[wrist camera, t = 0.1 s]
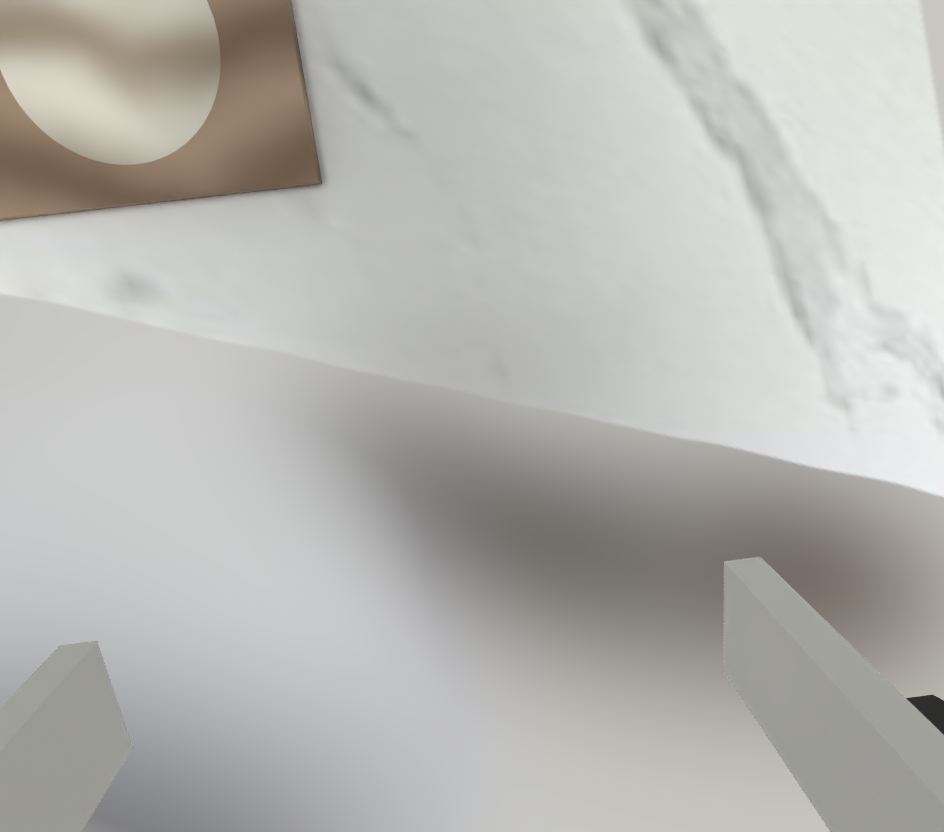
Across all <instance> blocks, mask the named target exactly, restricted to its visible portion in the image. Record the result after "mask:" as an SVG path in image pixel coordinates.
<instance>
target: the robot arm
mask: <svg viewBox="0 0 944 832" xmlns="http://www.w3.org/2000/svg"><path fill="white" fill-rule="evenodd" d="M723 646H724V647H723V649H724V650H723V651H724V653H723V671H724V673H725V674H726V676H727V677H728V679H729V680H730V682H731V683H732V685H733V686H734V688H735V689H736V691H737V692H738V694H739V695H740V697H741V698H742V700H743V701H744V703H745V704H746V706H747V707H748V709H749V710H750V712H751V713H752V715H753V716H754V718H755V719H756V721H757V722H758V724H759V725H760V727H761V728H762V730H763V731H764V733H765V734H766V736H767V737H768V739H769V740H770V742H771V743H772V745H773V746H774V748H775V749H776V751H777V752H778V754H779V755H780V757H781V758H782V760H783V761H784V763H785V764H786V766H787V767H788V769H789V770H790V772H791V773H792V775H793V776H794V778H795V779H796V781H797V782H798V784H799V785H800V787H801V788H802V790H803V791H804V793H805V794H806V796H807V797H808V799H809V800H810V802H811V803H812V805H813V806H814V808H815V809H816V811H817V812H818V814H819V815H820V817H821V818H822V820H823V821H824V823H825V824H826V826H827V827H828V829H829V830H830V832H944V701H943V700H941V699H940V698H938V697H936V696H934V695H927V696H921V697H912V698H905V697H904V696H903V695H902V694H901V693H900V692H899V691H898V690H897V689H896V688H895V687H894V686H893V685H892V684H891V683H890V682H889V681H887V680H886V679H885V678H884V677H883V676H882V675H881V674H880V673H879V672H878V671H877V670H876V669H875V668H874V667H873V666H872V665H871V664H870V663H869V662H868V661H867V660H866V659H865V658H864V657H863V656H862V655H861V654H860V653H859V652H858V651H857V650H856V649H855V648H854V647H853V646H852V645H850V644H849V643H848V642H847V641H846V640H845V639H844V638H843V637H842V636H841V635H840V634H839V633H838V632H837V631H836V630H835V629H834V628H833V627H832V626H831V625H830V624H829V623H828V622H827V621H826V620H825V619H823V617H822V616H820V615H819V614H818V613H817V612H816V611H815V610H814V609H813V608H812V607H811V606H810V605H809V604H808V603H807V602H806V601H805V600H804V599H803V598H802V597H801V596H800V595H799V594H798V593H797V592H796V591H795V590H794V589H793V588H792V587H791V586H790V585H788V583H786V582H785V581H784V580H783V579H782V578H781V577H780V576H779V575H778V574H777V573H776V572H775V571H774V570H773V569H772V568H771V567H770V566H769V565H768V564H767V563H766V562H765V561H764V560H763V559H762V558H761V557H755V558H747V559H739V560H731V561H724V645H723ZM132 749H133V746H132V744H131V740H130V737H129V734H128V731H127V728H126V726H125V723H124V719H123V717H122V714H121V710H120V708H119V705H118V702H117V699H116V696H115V693H114V690H113V687H112V684H111V681H110V678H109V675H108V672H107V669H106V666H105V663H104V660H103V657H102V654H101V651H100V648H99V645H98V642H97V641H92V642H84V643H77V644H70V645H61V646H59V647H58V648H57V649H56V650H55V651H54V652H53V653H52V654H51V655H50V656H49V657H48V659H47V660H46V661H45V662H44V663H43V664H42V665H41V666H40V667H39V668H38V669H37V670H36V671H35V672H34V673H33V674H32V675H31V676H30V677H29V678H28V679H27V680H26V681H25V682H24V683H23V685H22V686H21V687H20V688H19V689H18V690H17V691H16V692H15V693H14V694H13V695H12V696H11V697H10V698H9V699H8V700H7V701H6V702H5V703H4V704H3V705H2V706H1V708H0V832H81V831H82V830H83V828H84V826H85V825H86V823H87V822H88V820H89V818H90V817H91V815H92V814H93V812H94V810H95V809H96V807H97V805H98V804H99V802H100V801H101V799H102V797H103V796H104V794H105V792H106V791H107V789H108V788H109V786H110V784H111V783H112V781H113V779H114V778H115V776H116V775H117V773H118V771H119V770H120V768H121V766H122V765H123V763H124V762H125V760H126V758H127V757H128V755H129V754H130V752H131V750H132Z"/></svg>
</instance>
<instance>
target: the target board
mask: <svg viewBox="0 0 944 832" xmlns="http://www.w3.org/2000/svg"><path fill="white" fill-rule="evenodd" d="M318 184H322V182H321V176H320V170H319V164H318V158H317V153H316V147H315V141H314V135H313V129H312V123H311V117H310V111H309V105H308V99H307V94H306V88H305V82H304V76H303V70H302V64H301V58H300V52H299V46H298V41H297V35H296V29H295V23H294V17H293V11H292V5H291V0H0V220H9V219H17V218H26V217H35V216H44V215H53V214H62V213H70V212H79V211H88V210H97V209H106V208H115V207H123V206H132V205H141V204H150V203H159V202H168V201H176V200H185V199H194V198H203V197H212V196H221V195H229V194H238V193H247V192H256V191H265V190H274V189H282V188H291V187H300V186H309V185H318Z"/></svg>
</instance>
